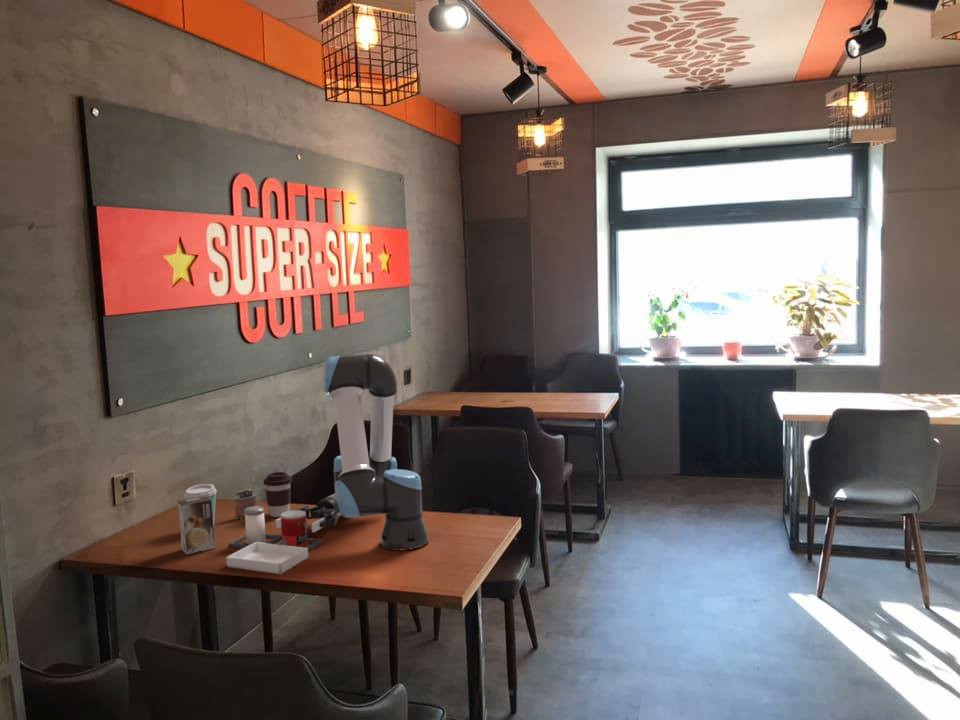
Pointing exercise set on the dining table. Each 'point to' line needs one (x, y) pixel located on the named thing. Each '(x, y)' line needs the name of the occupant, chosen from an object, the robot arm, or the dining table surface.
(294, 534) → the canned food
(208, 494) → the disposable coffee cup
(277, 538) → the rectangular frames
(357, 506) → the robot arm
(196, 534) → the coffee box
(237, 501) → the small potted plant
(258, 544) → the tray
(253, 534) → the salt shaker
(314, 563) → the dining table surface
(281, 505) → the coffee cup
